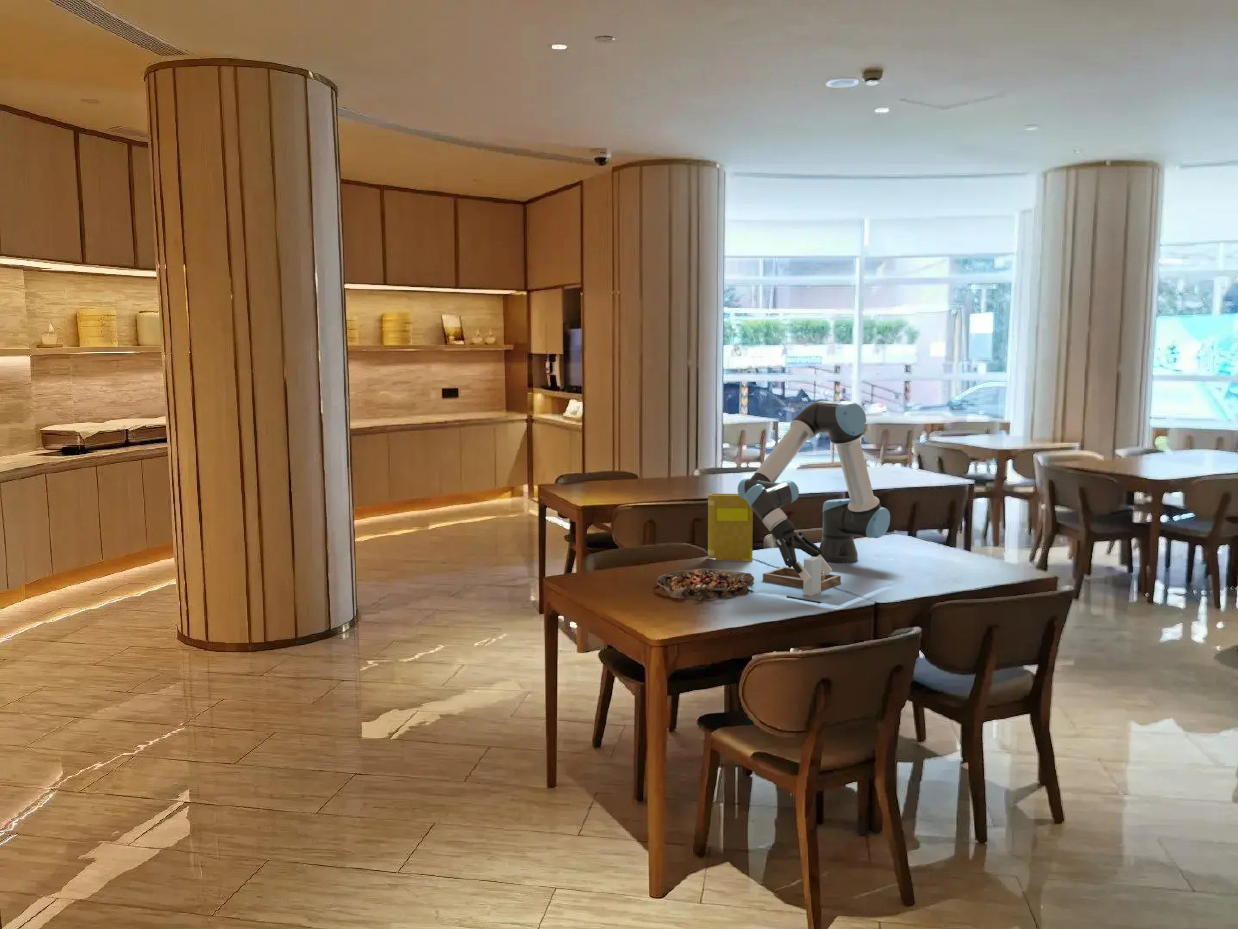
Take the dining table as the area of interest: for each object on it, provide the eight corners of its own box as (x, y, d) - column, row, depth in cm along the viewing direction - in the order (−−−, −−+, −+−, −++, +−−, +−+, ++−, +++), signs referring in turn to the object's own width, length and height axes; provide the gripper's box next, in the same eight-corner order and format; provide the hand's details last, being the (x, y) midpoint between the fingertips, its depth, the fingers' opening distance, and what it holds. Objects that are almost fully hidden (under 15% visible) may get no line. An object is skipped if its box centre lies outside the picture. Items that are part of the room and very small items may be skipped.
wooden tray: (784, 576, 339) (784, 566, 339) (840, 586, 325) (840, 575, 324) (762, 583, 329) (762, 573, 328) (819, 593, 314) (820, 583, 314)
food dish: (697, 610, 300) (696, 586, 299) (636, 591, 327) (635, 569, 326) (780, 591, 319) (779, 568, 318) (716, 574, 347) (715, 553, 346)
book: (751, 557, 372) (752, 493, 369) (752, 561, 366) (752, 496, 363) (707, 556, 374) (708, 493, 371) (707, 560, 367) (708, 495, 364)
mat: (805, 590, 319) (805, 588, 319) (837, 596, 311) (838, 594, 311) (786, 597, 310) (786, 595, 310) (819, 603, 302) (819, 601, 302)
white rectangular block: (812, 592, 314) (813, 556, 312) (820, 593, 312) (821, 557, 310) (803, 596, 309) (803, 559, 308) (811, 597, 307) (812, 560, 306)
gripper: (791, 527, 328) (830, 576, 320) (751, 537, 309) (791, 590, 301) (805, 513, 324) (845, 563, 316) (765, 523, 305) (806, 576, 297)
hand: (819, 576), depth 308 cm, fingers open, 13 cm apart
